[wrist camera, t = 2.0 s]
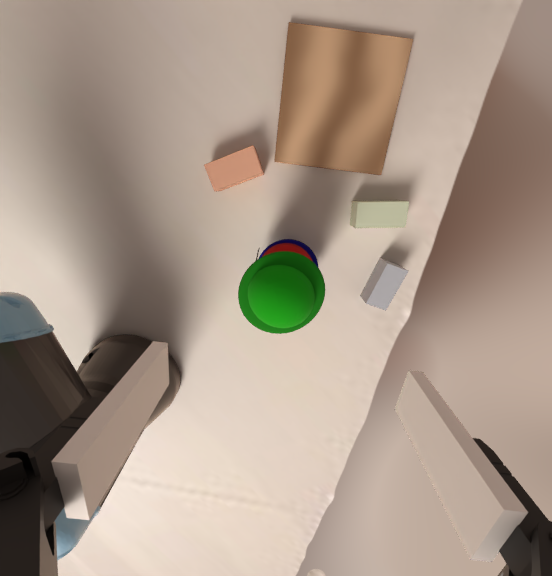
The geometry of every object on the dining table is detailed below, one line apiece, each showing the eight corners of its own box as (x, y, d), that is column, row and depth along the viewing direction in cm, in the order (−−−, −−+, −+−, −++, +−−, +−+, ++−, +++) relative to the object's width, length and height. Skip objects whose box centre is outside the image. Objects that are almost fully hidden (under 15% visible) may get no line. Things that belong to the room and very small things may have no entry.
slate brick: (378, 301, 39) (385, 310, 36) (359, 295, 38) (366, 303, 36) (398, 264, 37) (408, 271, 34) (379, 257, 36) (387, 263, 34)
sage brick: (349, 224, 35) (355, 228, 32) (351, 201, 34) (357, 202, 31) (395, 224, 35) (405, 227, 32) (398, 200, 34) (409, 201, 31)
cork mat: (274, 161, 32) (274, 161, 32) (288, 25, 28) (288, 22, 27) (379, 175, 32) (381, 174, 32) (410, 42, 28) (413, 39, 27)
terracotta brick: (220, 191, 34) (214, 191, 31) (210, 166, 33) (203, 164, 30) (264, 174, 33) (262, 173, 30) (255, 149, 32) (253, 145, 29)
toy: (291, 304, 39) (295, 369, 25) (239, 275, 38) (214, 326, 24) (326, 253, 36) (354, 294, 22) (272, 219, 35) (265, 240, 21)
